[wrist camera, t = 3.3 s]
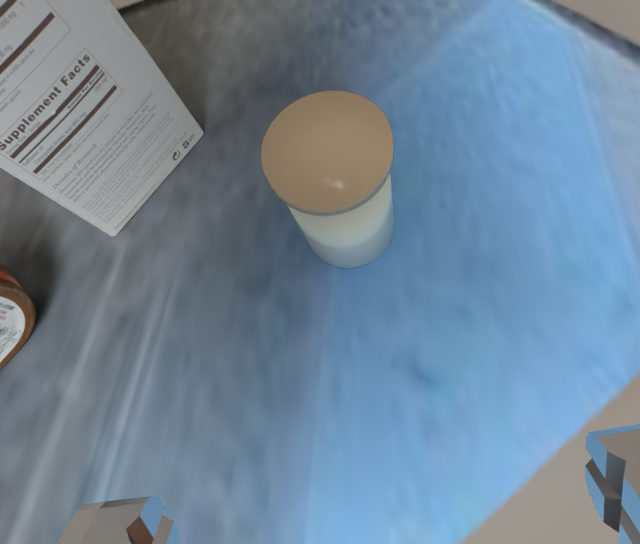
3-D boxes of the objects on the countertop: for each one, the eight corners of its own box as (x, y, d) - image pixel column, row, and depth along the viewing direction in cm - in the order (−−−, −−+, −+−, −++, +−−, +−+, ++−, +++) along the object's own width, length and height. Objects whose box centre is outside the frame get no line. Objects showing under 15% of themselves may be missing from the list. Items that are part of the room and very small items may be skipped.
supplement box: (30, 172, 31) (-351, -78, 16) (118, 76, 33) (-152, -244, 17) (116, 242, 28) (-253, 18, 12) (210, 133, 29) (-17, -195, 14)
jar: (287, 250, 26) (238, 181, 18) (328, 172, 27) (297, 77, 19) (373, 286, 24) (357, 226, 17) (413, 201, 25) (414, 110, 18)
